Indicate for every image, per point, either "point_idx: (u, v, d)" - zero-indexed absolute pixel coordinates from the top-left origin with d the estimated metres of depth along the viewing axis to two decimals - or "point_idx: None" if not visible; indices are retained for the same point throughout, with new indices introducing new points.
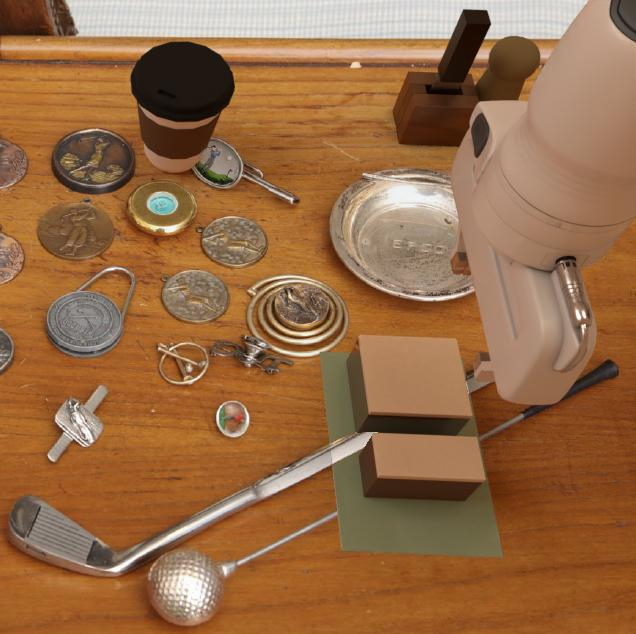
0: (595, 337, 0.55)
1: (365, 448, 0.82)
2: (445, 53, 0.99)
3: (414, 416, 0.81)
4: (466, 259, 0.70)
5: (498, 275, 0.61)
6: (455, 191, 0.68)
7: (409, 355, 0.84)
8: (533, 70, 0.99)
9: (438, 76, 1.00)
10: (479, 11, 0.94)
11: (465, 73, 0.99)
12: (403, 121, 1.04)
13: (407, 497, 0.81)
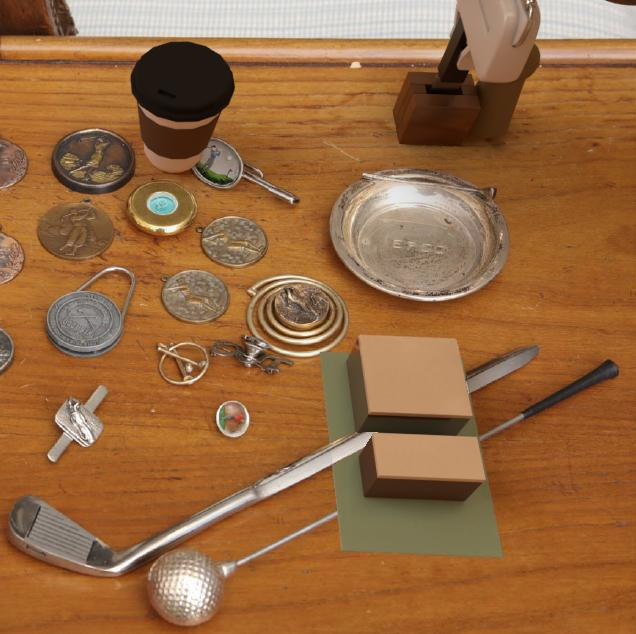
0: (539, 20, 0.83)
1: (365, 448, 0.82)
2: (445, 53, 0.99)
3: (414, 416, 0.81)
4: None
5: None
6: None
7: (409, 355, 0.84)
8: (533, 70, 0.99)
9: (438, 76, 1.00)
10: None
11: (465, 73, 0.99)
12: (403, 121, 1.04)
13: (407, 497, 0.81)
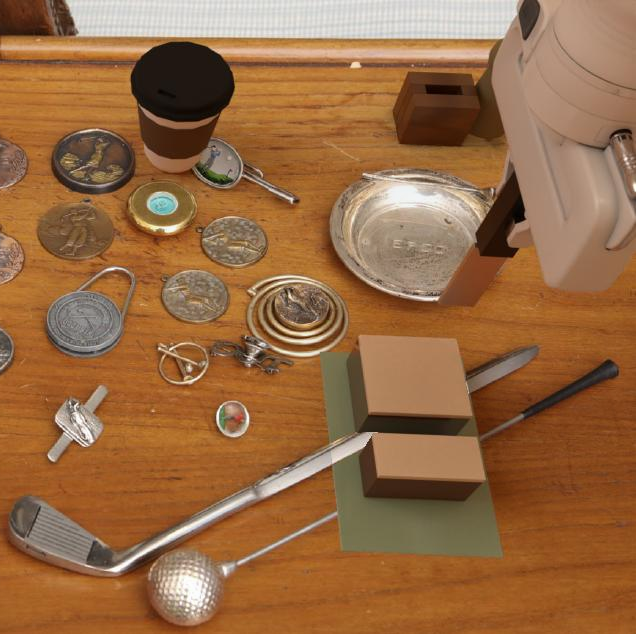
0: None
1: (365, 448, 0.82)
2: (488, 217, 0.68)
3: (414, 416, 0.81)
4: None
5: (546, 161, 0.59)
6: (497, 88, 0.66)
7: (409, 355, 0.84)
8: None
9: (476, 246, 0.70)
10: None
11: None
12: (403, 121, 1.04)
13: (407, 497, 0.81)
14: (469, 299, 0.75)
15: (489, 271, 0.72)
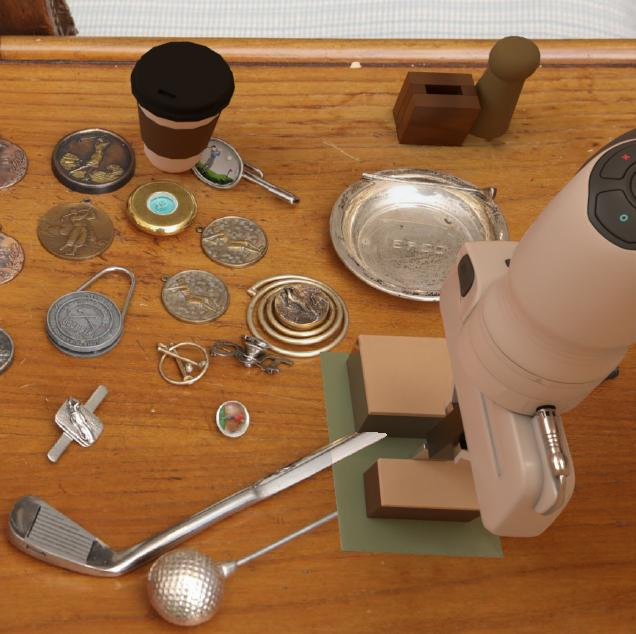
0: (573, 483, 0.57)
1: (370, 469, 0.80)
2: (437, 428, 0.73)
3: (414, 416, 0.81)
4: None
5: (483, 410, 0.64)
6: (443, 315, 0.71)
7: (409, 355, 0.84)
8: (533, 70, 0.99)
9: (426, 448, 0.75)
10: None
11: None
12: (403, 121, 1.04)
13: (411, 518, 0.80)
14: None
15: (439, 460, 0.78)
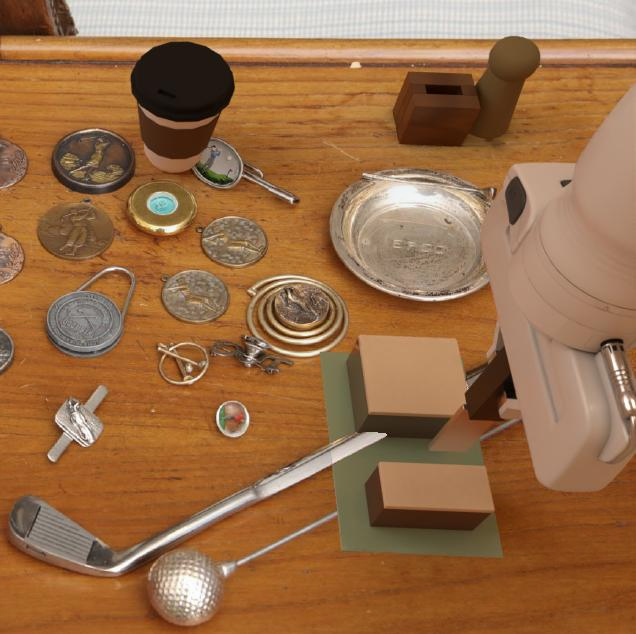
0: None
1: (371, 477, 0.80)
2: (477, 383, 0.66)
3: (414, 416, 0.81)
4: None
5: (536, 351, 0.57)
6: (486, 253, 0.64)
7: (409, 355, 0.84)
8: (533, 70, 0.99)
9: (466, 408, 0.68)
10: None
11: None
12: (403, 121, 1.04)
13: (414, 527, 0.80)
14: (460, 447, 0.74)
15: (479, 427, 0.70)
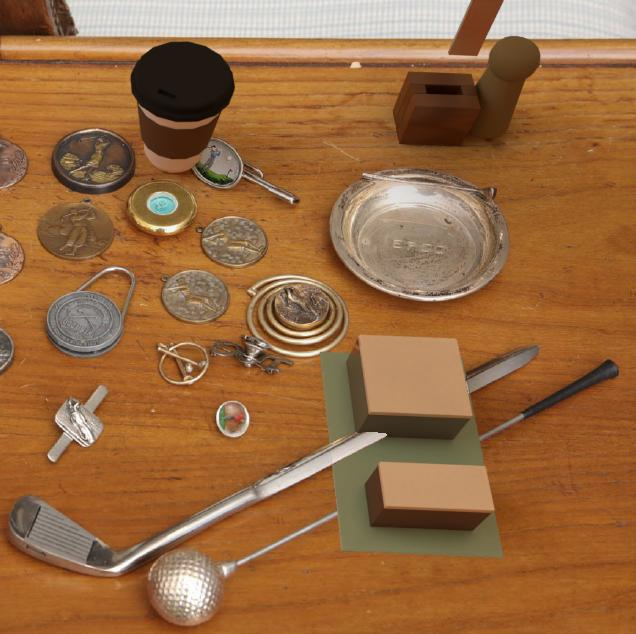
0: None
1: (371, 477, 0.80)
2: None
3: (414, 416, 0.81)
4: None
5: None
6: None
7: (409, 355, 0.84)
8: (533, 70, 0.99)
9: None
10: None
11: None
12: (403, 121, 1.04)
13: (414, 527, 0.80)
14: (473, 47, 0.95)
15: (489, 16, 0.92)
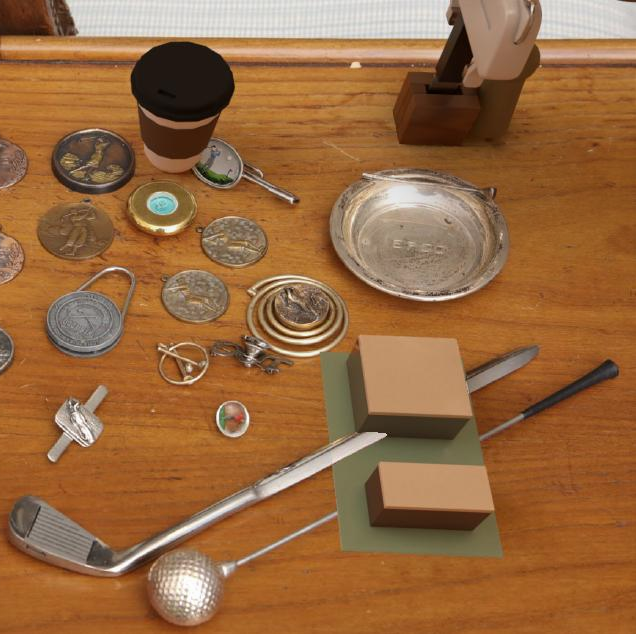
0: (541, 16, 0.83)
1: (371, 477, 0.80)
2: (443, 53, 0.99)
3: (414, 416, 0.81)
4: (457, 11, 0.98)
5: None
6: None
7: (409, 355, 0.84)
8: (533, 70, 0.99)
9: (436, 76, 1.00)
10: None
11: None
12: (403, 121, 1.04)
13: (414, 527, 0.80)
14: None
15: None
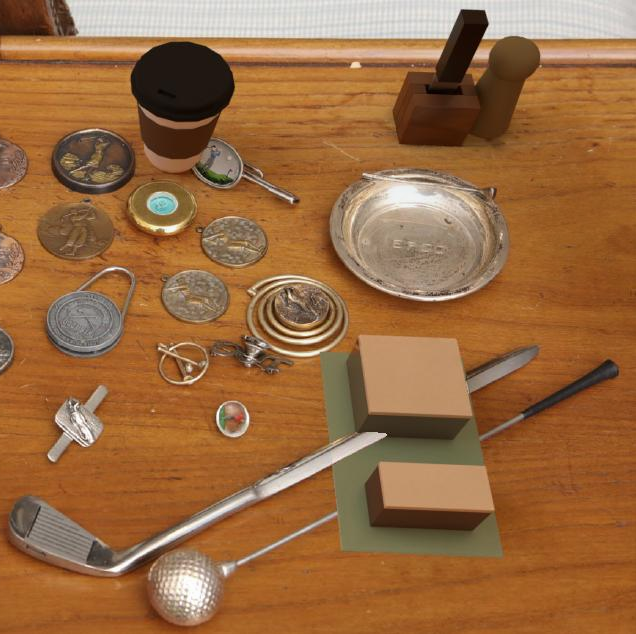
0: None
1: (371, 477, 0.80)
2: (443, 53, 0.99)
3: (414, 416, 0.81)
4: None
5: None
6: None
7: (409, 355, 0.84)
8: (533, 70, 0.99)
9: (436, 76, 1.00)
10: (477, 11, 0.94)
11: (463, 73, 0.99)
12: (403, 121, 1.04)
13: (414, 527, 0.80)
14: None
15: None
